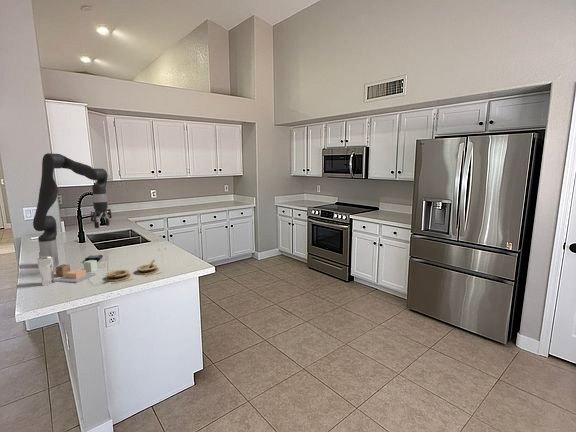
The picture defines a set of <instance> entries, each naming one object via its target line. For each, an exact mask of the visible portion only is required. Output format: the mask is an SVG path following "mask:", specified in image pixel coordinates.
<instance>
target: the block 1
mask: <svg viewBox="0 0 576 432" xmlns="http://www.w3.org/2000/svg"><path fill="white" fill-rule="evenodd" d="M54 269H55V274H56V275H55V276H56V277H58V278H62V277H64V276H66V273H67V272H70V271H71V265H70V264H65V263H64V264H63V263H62V264H59V265H56V266H54Z"/></svg>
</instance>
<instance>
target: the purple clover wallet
mask: <svg viewBox="0 0 576 432" xmlns="http://www.w3.org/2000/svg"><path fill="white" fill-rule="evenodd" d="M103 256H104V255H103V254H99V255H98V254H97V255H91V254H90V255H89V256H87V257H85V258H84V262H86V261H89V260H97V262H98V261H100V260H101V259H102V258H103ZM97 258H99V259H97Z"/></svg>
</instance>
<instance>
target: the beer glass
mask: <svg viewBox="0 0 576 432" xmlns="http://www.w3.org/2000/svg"><path fill="white" fill-rule="evenodd" d="M37 268H38V271H39V274H40V277H41V286H44V287H45V286H51V285H53V284H56V279H55V278H54V276H55V275H54V272H55V266H54V261H53V257H52V256H46V257H41V258H39V257H38V258H37Z"/></svg>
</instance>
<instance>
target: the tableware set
mask: <svg viewBox="0 0 576 432" xmlns="http://www.w3.org/2000/svg"><path fill="white" fill-rule="evenodd" d="M155 262H156V259H152V260H151V262H149V263H148V264H142V265H140V266H137V267H136V271H135V274H136V275H138V276H143V277H144V278H148V277H152V276H155V275H159V274H160V275H161V274H163V272H159V270H160V268H159V267H158V265H157V264H154V263H155ZM131 276H132V275H131V273H130V271H129V270H128V269H117V270H112V271H110V272H108V273H106V277H105V280H106V281H107V282H111V283H110V284H111V285H115V284H121V283H125V282H129V281H133V280H135V278H131Z"/></svg>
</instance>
